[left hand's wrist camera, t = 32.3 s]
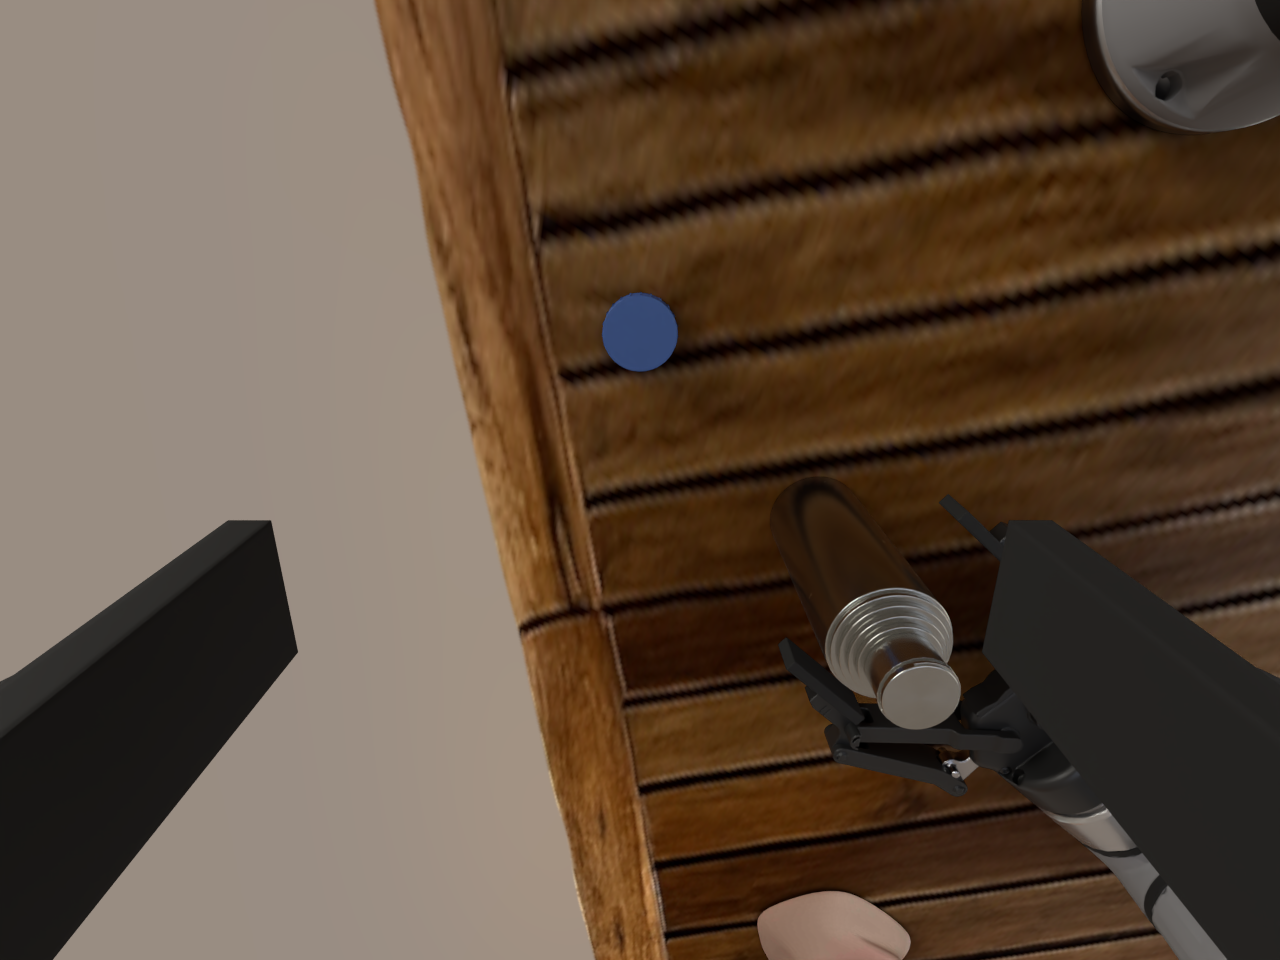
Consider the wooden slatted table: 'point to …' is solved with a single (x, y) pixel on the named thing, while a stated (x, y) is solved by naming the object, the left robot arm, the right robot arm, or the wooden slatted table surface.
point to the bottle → (866, 604)
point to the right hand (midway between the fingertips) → (865, 582)
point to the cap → (640, 332)
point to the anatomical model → (830, 929)
